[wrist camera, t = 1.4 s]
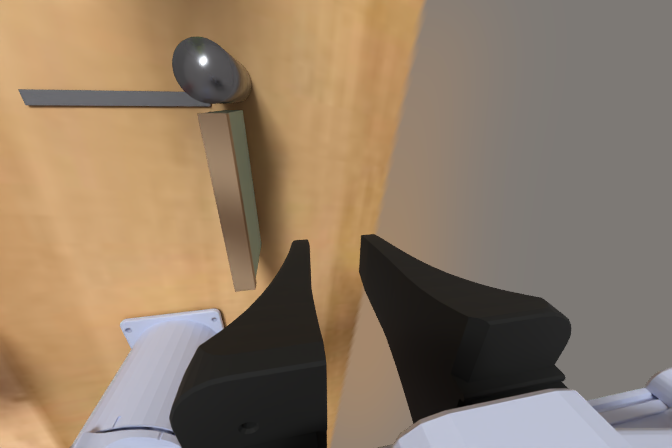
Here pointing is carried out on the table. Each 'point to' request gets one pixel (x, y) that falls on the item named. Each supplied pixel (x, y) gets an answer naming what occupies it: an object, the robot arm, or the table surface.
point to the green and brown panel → (233, 192)
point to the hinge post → (209, 72)
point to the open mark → (108, 98)
